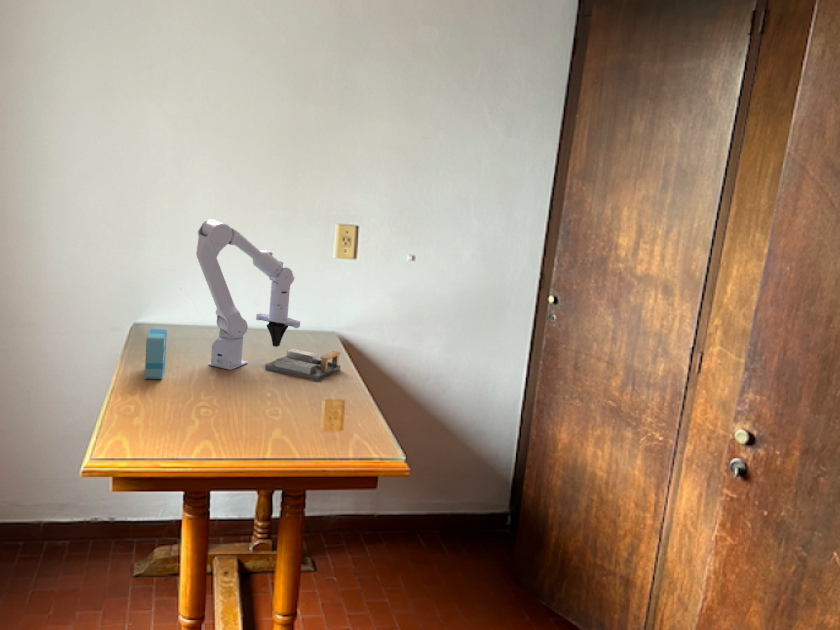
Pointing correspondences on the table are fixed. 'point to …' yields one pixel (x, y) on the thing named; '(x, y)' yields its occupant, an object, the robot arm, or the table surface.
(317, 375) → the base
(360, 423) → the table surface
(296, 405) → the table surface
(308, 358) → the bar
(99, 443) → the table surface
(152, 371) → the data package
